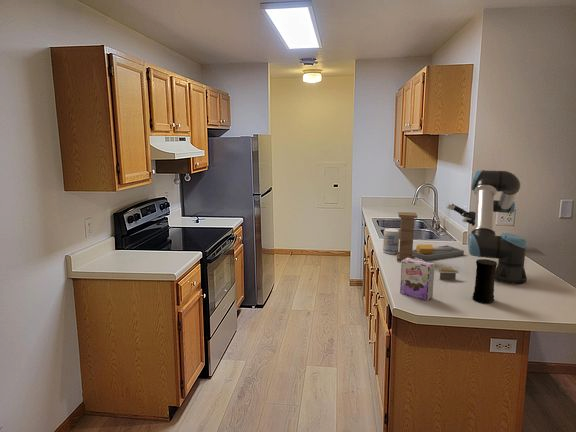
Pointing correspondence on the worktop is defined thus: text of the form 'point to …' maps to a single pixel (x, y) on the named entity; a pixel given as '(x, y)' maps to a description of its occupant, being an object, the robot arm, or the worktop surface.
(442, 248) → the screwdriver
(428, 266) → the candy box
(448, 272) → the platform
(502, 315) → the worktop surface
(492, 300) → the container
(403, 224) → the brown wooden column
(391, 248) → the supplement tub
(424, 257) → the tray
